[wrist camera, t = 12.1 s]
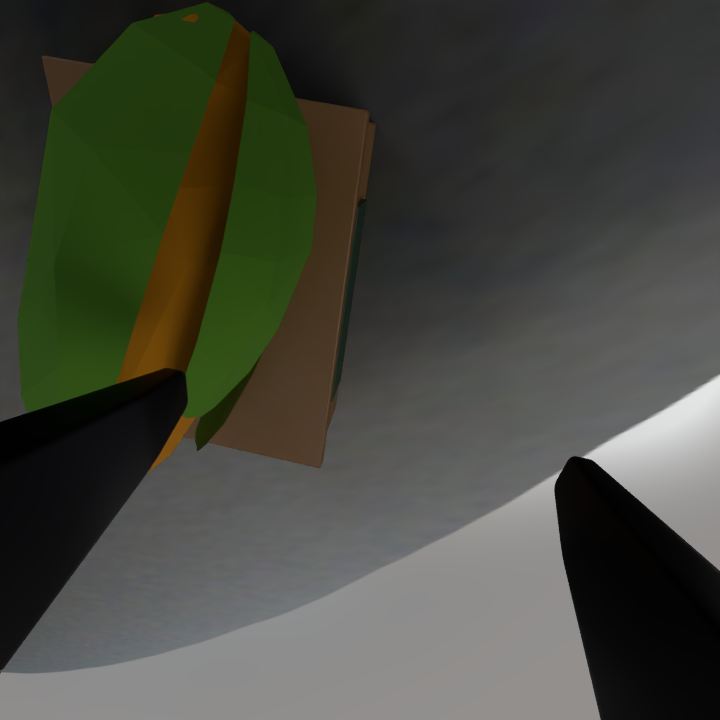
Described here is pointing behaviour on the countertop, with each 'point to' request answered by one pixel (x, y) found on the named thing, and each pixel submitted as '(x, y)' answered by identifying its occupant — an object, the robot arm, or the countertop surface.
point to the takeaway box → (298, 292)
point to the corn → (167, 218)
